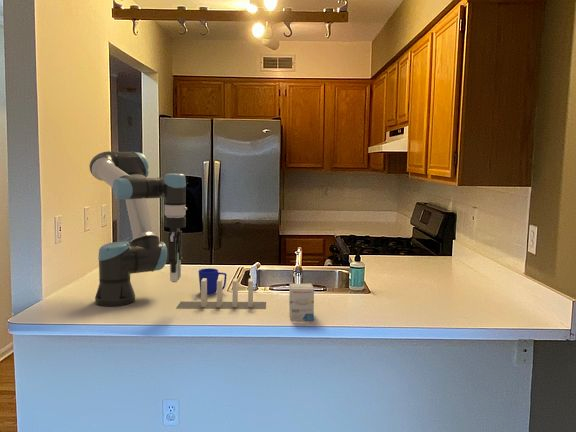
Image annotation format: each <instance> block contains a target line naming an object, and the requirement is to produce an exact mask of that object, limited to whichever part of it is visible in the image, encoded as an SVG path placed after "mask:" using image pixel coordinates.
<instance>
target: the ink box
mask: <svg viewBox="0 0 576 432" xmlns="http://www.w3.org/2000/svg"><path fill="white" fill-rule="evenodd" d="M288 299H289V302H288V303H289V311H288V313H289V320H290V321H293V320H295V321H296V320H297V321H302V320H303V321H306V322H307V321H309V322H310V321H314V318H315V317H314V314H315V311H314V309H315V308H314V306H315V305H314V304H315V288H314V286H313V284H312V283H289V297H288Z"/></svg>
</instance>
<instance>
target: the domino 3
mask: <svg viewBox="0 0 576 432" xmlns="http://www.w3.org/2000/svg"><path fill="white" fill-rule="evenodd" d="M238 282H239V281H238V278H233V279H232V302H233V307H237V304H238V302H239V297H238V296H239V295H238V294H239V292H238V291H239V289H238V288H239V286H238V284H239V283H238Z"/></svg>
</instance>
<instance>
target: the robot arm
mask: <svg viewBox="0 0 576 432" xmlns="http://www.w3.org/2000/svg"><path fill="white" fill-rule="evenodd" d="M88 167H89V172H90V174H91V175H92V176H93V177H94V178H95V179H97V180H98V181H102V182H105V183H106V184H107V185H109V186H110V187H111V189H112V194H113V196H114V198H115V199H116V200H124V201H125V205H126V209H127V213H128V219H129V223H130V224H129V225H130V229H131V234H132V239H131V240H130V242H129V241H125V240H124V241H114V242H108V243H106V244H104V245H102V246H101V247H99V249H98V257H97V258H98V277H99V281H98V282H99V284H98V287H97V291H96V294H95V297H94V303H95V305H97V306H101V307H120V306H126V305H130V304H132V303H134V302H135V301H136V294H135V291H134V288H133V285H132V282H131V275H133V274H140V273H148V272H155V271H161V270H162V269H163V268H165V266H166V264H169V281H170V282H172V281H177V282H178V281H179V280H178V263H177V253H179V279H180V278H181V277H182V273H181V272H182V271H181V270H182V265H181V264H182V260H184V257H183V252H182V251H183V250H182V249H183V244H182V242H183V241H182V240H183V239H182V235H183V231H182V230H181V229H182V228H186V226H187V224H186V223H187V222H186V221H187V218H186V214H187V213H186V211H187V210H188V207H186V205H187V204H186V203H187V202H186V201H187V199H186V195H187V190H186V189H187V183H186V182H187V181H186V176H185V174H184V173H166V174H164V177H161V176H160V177H148V176H149V172H150V171H149V168H150V166H149V162H148V159H147V158H146V156H145V155H144V154H143V153H141V152H137V151H136V152H135V151H102V152H100V153H97V154H96V155H95V156H94V157H92V159H91V160H90V162H89V166H88ZM148 199H164V211H163V212H164V214H163V215H164V216H165V217H164V227H165V228H169V229H170V232H168V236H167V239H168V248H167V244H166V243H165V242H164V241H160V237H159V236H158V235H157V234H155V232H154V228H153V222H152V219H151V218H152V217H151V214H150V210H149V209H150V208H149V204H148ZM167 260H168V261H167Z"/></svg>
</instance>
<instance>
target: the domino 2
mask: <svg viewBox="0 0 576 432" xmlns="http://www.w3.org/2000/svg"><path fill="white" fill-rule="evenodd" d="M222 288H223V278H220V277H218V280H217V291H216V302H217V307H221V306H222V302H223V290H222Z"/></svg>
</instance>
